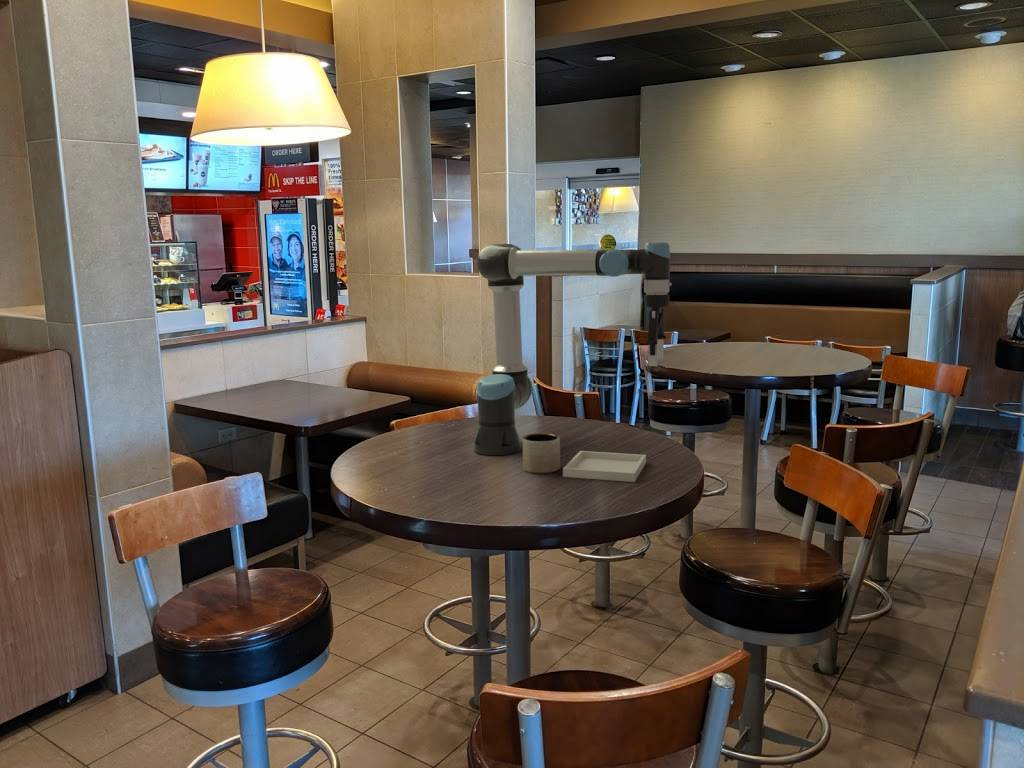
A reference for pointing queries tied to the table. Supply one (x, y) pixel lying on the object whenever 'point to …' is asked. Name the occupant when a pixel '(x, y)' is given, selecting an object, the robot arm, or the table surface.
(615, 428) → the table surface
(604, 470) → the tray
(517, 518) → the table surface
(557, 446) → the planter
